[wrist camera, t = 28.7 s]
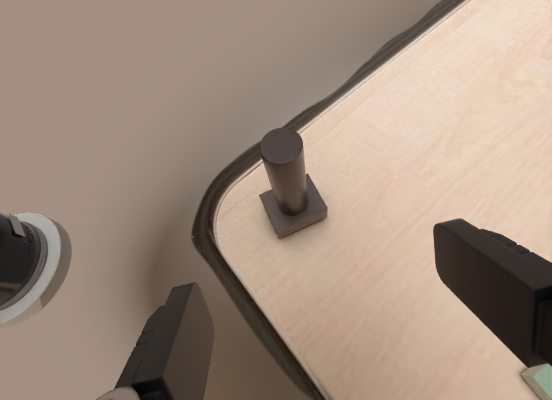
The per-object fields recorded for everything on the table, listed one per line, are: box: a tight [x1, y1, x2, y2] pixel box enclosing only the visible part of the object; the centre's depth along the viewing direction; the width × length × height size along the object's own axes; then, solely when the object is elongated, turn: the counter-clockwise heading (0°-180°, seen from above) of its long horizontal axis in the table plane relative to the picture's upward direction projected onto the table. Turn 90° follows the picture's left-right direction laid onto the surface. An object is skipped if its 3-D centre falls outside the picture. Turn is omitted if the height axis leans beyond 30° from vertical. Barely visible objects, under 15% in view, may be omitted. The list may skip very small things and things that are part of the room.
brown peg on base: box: [259, 128, 327, 238], centre depth 24 cm, size 5×4×12 cm
